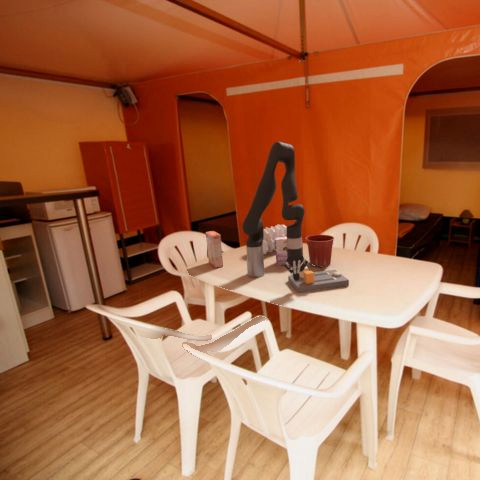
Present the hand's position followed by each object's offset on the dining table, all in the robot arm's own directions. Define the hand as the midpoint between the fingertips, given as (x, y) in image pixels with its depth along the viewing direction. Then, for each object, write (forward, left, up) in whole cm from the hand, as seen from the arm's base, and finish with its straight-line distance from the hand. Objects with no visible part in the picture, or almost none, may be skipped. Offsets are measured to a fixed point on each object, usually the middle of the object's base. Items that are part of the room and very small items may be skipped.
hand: (296, 280), depth 161 cm
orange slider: (+6, 0, -2) cm, 7 cm away
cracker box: (-36, +55, -5) cm, 66 cm away
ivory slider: (+6, +8, -2) cm, 10 cm away
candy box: (+7, +40, -5) cm, 41 cm away
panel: (+12, +4, -5) cm, 14 cm away
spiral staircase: (+4, +69, -5) cm, 69 cm away
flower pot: (+25, +32, -5) cm, 41 cm away
